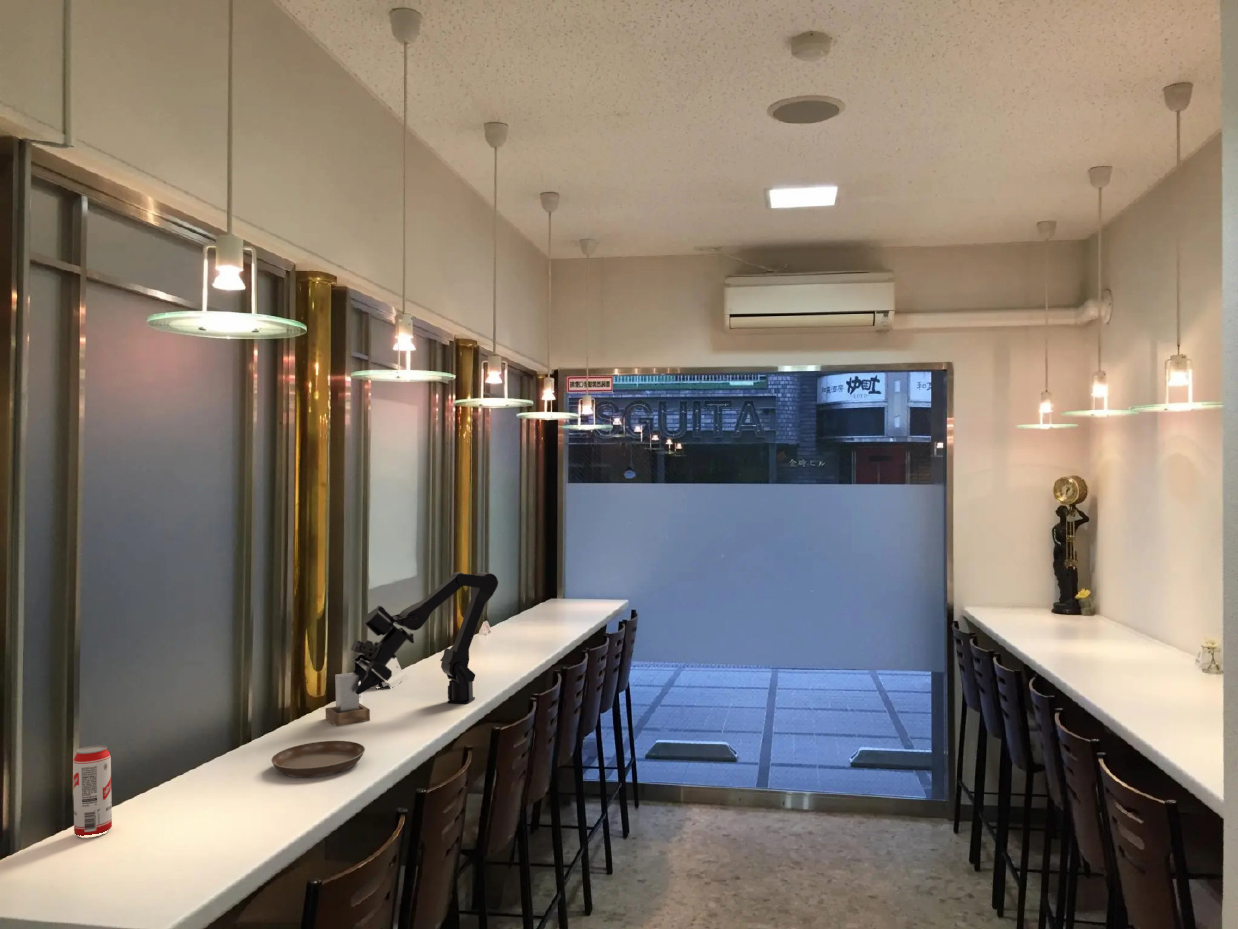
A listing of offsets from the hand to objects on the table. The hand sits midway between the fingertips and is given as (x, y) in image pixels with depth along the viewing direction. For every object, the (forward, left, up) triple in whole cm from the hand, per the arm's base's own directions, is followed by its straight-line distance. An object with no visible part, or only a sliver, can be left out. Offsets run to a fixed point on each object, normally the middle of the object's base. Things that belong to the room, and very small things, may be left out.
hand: (351, 690), depth 260 cm
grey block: (+1, +1, -8) cm, 8 cm away
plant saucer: (-14, +42, -8) cm, 45 cm away
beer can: (+7, +87, -8) cm, 87 cm away
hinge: (+11, -45, -8) cm, 47 cm away
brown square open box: (+1, +1, -8) cm, 8 cm away
